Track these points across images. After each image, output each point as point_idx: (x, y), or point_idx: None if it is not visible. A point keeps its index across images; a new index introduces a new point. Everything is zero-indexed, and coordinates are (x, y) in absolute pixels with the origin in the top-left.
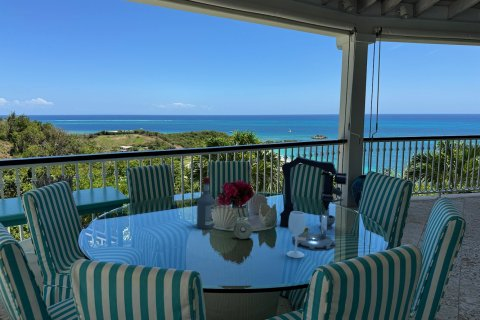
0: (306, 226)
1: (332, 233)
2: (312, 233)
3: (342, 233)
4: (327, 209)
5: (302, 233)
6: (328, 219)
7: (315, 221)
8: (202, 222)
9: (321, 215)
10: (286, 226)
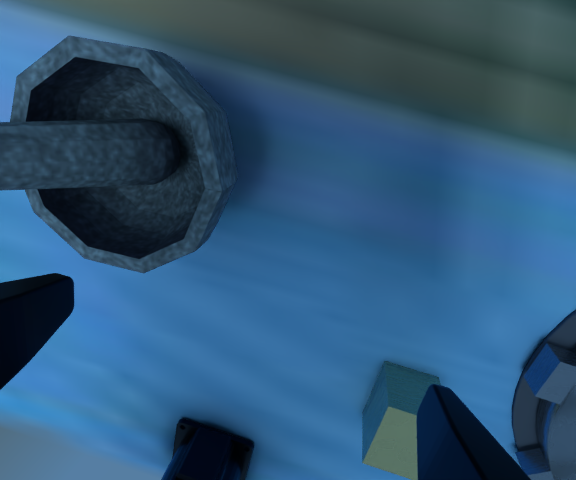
0: (394, 425)
1: (409, 141)
2: (551, 400)
3: (411, 6)
4: (469, 415)
5: (537, 473)
6: (224, 176)
7: (15, 204)
8: None
9: (72, 230)
10: (248, 465)
